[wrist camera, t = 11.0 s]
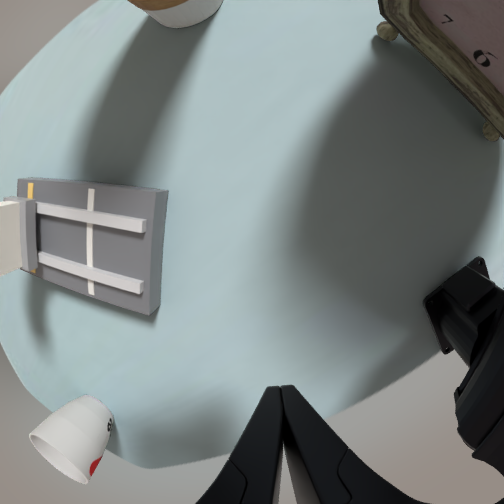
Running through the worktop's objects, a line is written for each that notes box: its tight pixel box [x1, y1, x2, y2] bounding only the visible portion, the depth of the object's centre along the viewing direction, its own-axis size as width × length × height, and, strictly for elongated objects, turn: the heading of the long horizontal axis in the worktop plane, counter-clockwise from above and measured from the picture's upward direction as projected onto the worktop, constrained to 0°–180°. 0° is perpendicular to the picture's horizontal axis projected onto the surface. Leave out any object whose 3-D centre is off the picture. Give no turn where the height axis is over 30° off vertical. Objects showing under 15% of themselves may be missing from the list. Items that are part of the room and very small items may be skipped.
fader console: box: [17, 177, 168, 316], centre depth 20 cm, size 16×9×3 cm, turn 81°
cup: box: [29, 395, 114, 484], centre depth 23 cm, size 8×8×10 cm
